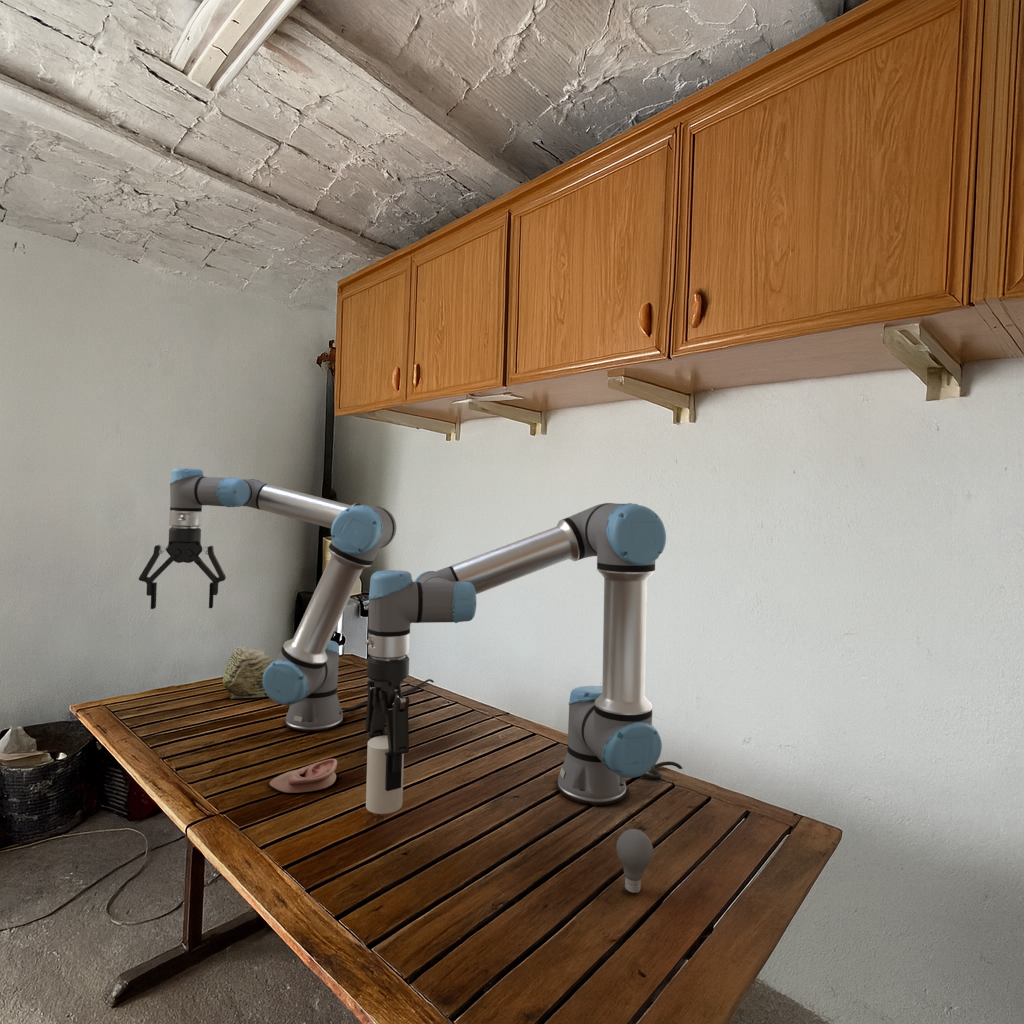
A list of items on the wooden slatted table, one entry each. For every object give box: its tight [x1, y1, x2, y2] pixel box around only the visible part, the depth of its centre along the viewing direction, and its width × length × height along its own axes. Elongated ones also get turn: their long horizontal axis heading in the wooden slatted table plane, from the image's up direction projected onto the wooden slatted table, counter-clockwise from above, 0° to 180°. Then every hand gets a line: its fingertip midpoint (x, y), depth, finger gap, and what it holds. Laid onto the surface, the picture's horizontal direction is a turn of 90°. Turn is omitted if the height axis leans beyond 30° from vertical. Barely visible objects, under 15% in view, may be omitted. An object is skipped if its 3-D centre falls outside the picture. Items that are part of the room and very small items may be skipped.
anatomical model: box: [269, 758, 338, 794], centre depth 140 cm, size 13×4×12 cm
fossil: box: [222, 646, 275, 699], centre depth 198 cm, size 9×18×15 cm, turn 132°
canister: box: [365, 735, 405, 815], centre depth 116 cm, size 7×7×12 cm
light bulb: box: [615, 828, 654, 894], centre depth 106 cm, size 6×6×10 cm
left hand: (182, 607), depth 166 cm, fingers open, 13 cm apart
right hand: (385, 780), depth 116 cm, fingers closed on canister, 7 cm apart
